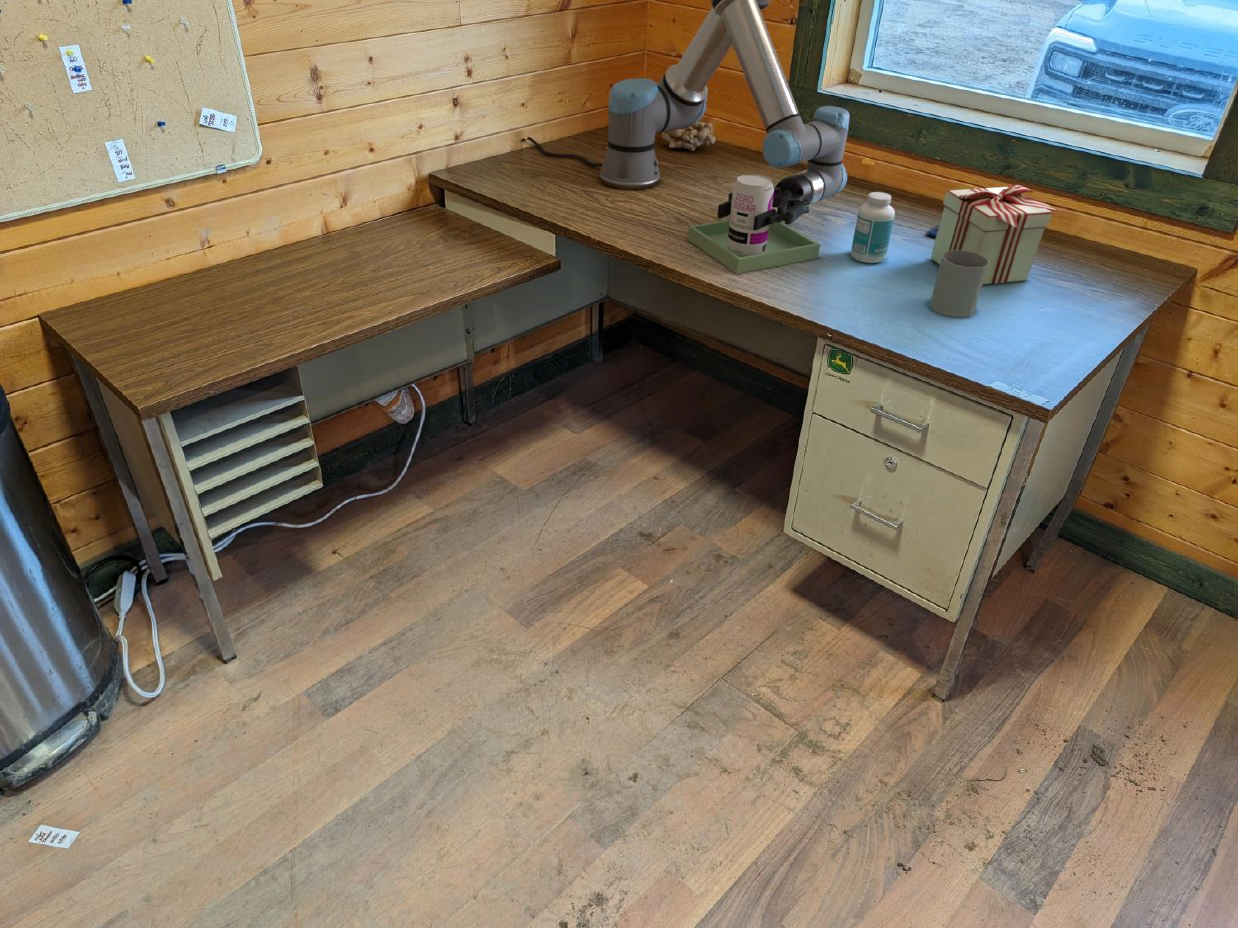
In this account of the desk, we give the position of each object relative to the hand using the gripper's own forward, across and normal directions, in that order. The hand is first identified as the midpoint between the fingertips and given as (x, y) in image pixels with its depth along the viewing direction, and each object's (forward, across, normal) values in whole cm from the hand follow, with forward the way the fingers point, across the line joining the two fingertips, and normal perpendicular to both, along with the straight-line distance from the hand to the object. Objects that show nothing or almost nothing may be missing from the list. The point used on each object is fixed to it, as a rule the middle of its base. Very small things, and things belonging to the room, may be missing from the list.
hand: (737, 217), depth 178 cm
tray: (-10, +2, -10) cm, 15 cm away
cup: (-14, -42, -10) cm, 46 cm away
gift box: (-36, -40, -10) cm, 54 cm away
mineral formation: (-59, +57, -10) cm, 82 cm away
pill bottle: (-25, -18, -10) cm, 32 cm away
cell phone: (-53, -25, -10) cm, 59 cm away
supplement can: (-5, 0, -9) cm, 10 cm away
